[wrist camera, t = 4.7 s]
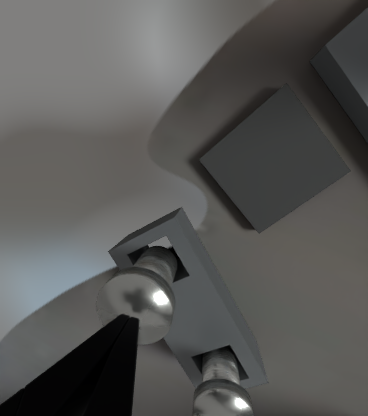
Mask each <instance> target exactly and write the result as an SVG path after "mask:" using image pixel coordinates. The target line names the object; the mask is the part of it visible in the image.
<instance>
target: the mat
mask: <svg viewBox="0 0 368 416" xmlns="http://www.w3.org/2000/svg"><path fill="white" fill-rule="evenodd" d="M199 160H200V162H201V163H202V164H203V165H204V167H205V168H206V169H207V170H208V172H209V173H210V174H211V175H212V176H213V178H214V179H215V180H216V181H217V183H218V184H219V185H220V186H221V187H222V189H223V190H224V191H225V192H226V194H227V195H228V196H229V197H230V199H231V200H232V201H233V202H234V203H235V205H236V206H237V207H238V208H239V210H240V211H241V212H242V213H243V215H244V216H245V217H246V218H247V219H248V221H249V222H250V223H251V224H252V226H253V227H254V228H255V229H256V231H257V232H258V233H261V232H262V231H264V230H265V229H267V228H268V227H269V226H271V225H272V224H274V223H275V222H277V221H278V220H280V219H281V218H283V217H284V216H286V215H287V214H289V213H290V212H292V211H293V210H294V209H296V208H297V207H299V206H300V205H302V204H303V203H305V202H306V201H308V200H309V199H311V198H312V197H314V196H315V195H317V194H318V193H319V192H321V191H322V190H324V189H325V188H327V187H328V186H330V185H331V184H333V183H334V182H336V181H337V180H339V179H340V178H341V177H343V176H344V175H346V174H347V173H349V172H350V171H351V170H350V169H349V168H348V166H347V165H346V164H345V162H344V161H343V160H342V158H341V157H340V155H339V154H338V153H337V151H336V150H335V149H334V147H333V146H332V144H331V143H330V142H329V140H328V139H327V138H326V136H325V135H324V134H323V132H322V131H321V129H320V128H319V127H318V125H317V124H316V123H315V121H314V120H313V118H312V117H311V116H310V114H309V113H308V112H307V110H306V109H305V108H304V106H303V105H302V103H301V102H300V101H299V99H298V98H297V97H296V95H295V94H294V92H293V91H292V90H291V88H290V87H289V86H288V84H287V83H286V84H285V85H284V86H283V87H281V88H280V89H279V90H278V91H277V92H276V93H275V94H273V95H272V96H271V97H270V98H269V99H268V100H267V101H265V102H264V103H263V104H262V105H261V106H260V107H259V108H257V109H256V110H255V111H254V112H253V113H252V114H251V115H249V116H248V117H247V118H246V119H245V120H244V121H243V122H241V123H240V124H239V125H238V126H237V127H236V128H235V129H233V130H232V131H231V132H230V133H229V134H228V135H227V136H225V137H224V138H223V139H222V140H221V141H220V142H219V143H217V144H216V145H215V146H214V147H213V148H212V149H211V150H209V151H208V152H207V153H206V154H205V155H204V156H203V157H201V158H200V159H199Z"/></svg>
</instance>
